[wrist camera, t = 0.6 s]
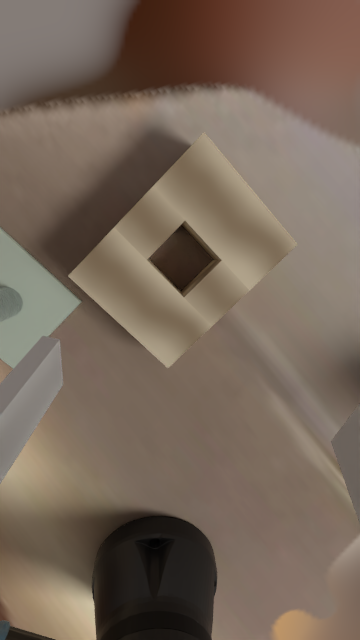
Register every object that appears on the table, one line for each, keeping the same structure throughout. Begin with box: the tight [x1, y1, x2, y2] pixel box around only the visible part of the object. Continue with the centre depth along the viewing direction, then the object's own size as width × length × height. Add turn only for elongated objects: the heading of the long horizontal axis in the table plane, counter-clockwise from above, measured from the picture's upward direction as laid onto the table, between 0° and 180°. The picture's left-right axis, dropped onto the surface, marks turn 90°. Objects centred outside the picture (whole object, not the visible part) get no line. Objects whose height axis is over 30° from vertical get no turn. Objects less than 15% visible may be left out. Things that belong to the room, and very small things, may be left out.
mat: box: [0, 227, 82, 369], centre depth 29 cm, size 10×10×1 cm
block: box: [68, 133, 298, 368], centre depth 27 cm, size 16×12×4 cm
